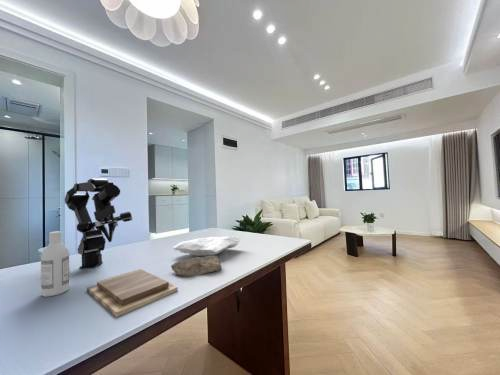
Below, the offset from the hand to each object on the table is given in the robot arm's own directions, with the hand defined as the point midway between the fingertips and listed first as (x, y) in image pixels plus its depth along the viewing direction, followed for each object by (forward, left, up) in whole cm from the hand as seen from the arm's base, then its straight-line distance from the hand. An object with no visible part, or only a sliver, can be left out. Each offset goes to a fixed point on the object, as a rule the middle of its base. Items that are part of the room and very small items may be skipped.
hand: (110, 241), depth 86 cm
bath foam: (-10, -15, -13) cm, 22 cm away
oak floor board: (+16, -18, -13) cm, 27 cm away
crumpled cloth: (+38, +18, -13) cm, 44 cm away
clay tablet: (+35, -2, -13) cm, 37 cm away
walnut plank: (+9, -11, -11) cm, 18 cm away
